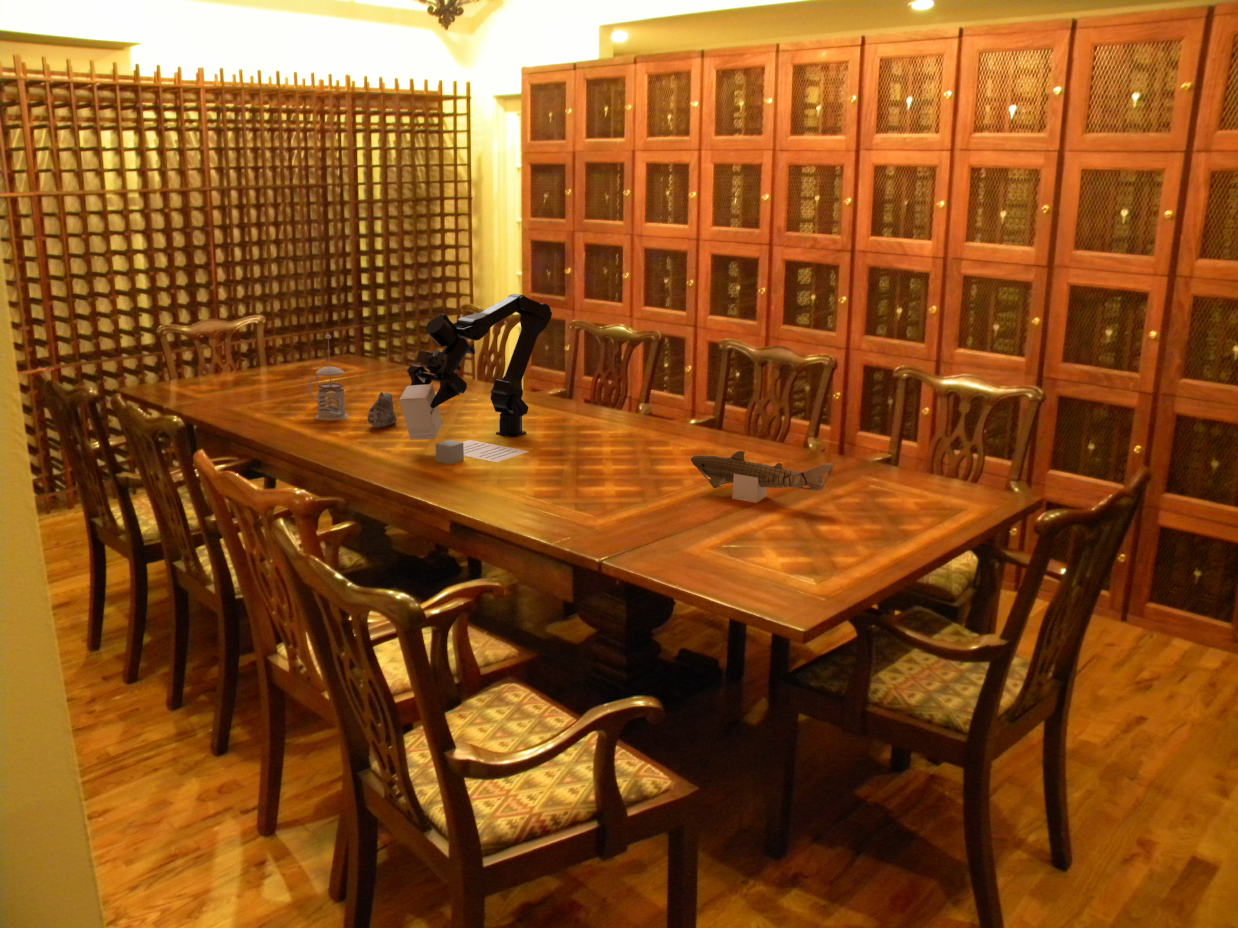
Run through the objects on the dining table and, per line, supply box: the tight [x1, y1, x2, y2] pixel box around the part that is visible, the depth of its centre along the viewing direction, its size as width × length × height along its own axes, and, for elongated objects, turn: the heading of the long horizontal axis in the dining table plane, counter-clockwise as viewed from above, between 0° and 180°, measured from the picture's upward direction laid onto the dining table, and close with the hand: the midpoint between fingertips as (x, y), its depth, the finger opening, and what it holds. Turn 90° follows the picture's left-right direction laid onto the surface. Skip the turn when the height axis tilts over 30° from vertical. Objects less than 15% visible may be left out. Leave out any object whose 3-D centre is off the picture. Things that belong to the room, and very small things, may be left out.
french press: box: [307, 334, 349, 421], centre depth 318 cm, size 10×12×25 cm
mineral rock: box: [367, 391, 398, 428], centre depth 311 cm, size 13×11×10 cm
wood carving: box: [690, 450, 834, 503], centre depth 248 cm, size 9×35×11 cm, turn 61°
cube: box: [435, 439, 465, 465], centre depth 275 cm, size 5×5×5 cm
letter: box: [462, 439, 530, 463], centre depth 286 cm, size 14×21×1 cm, turn 57°
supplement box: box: [398, 383, 443, 441], centre depth 279 cm, size 7×7×13 cm
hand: (420, 404), depth 278 cm, fingers closed on supplement box, 9 cm apart
